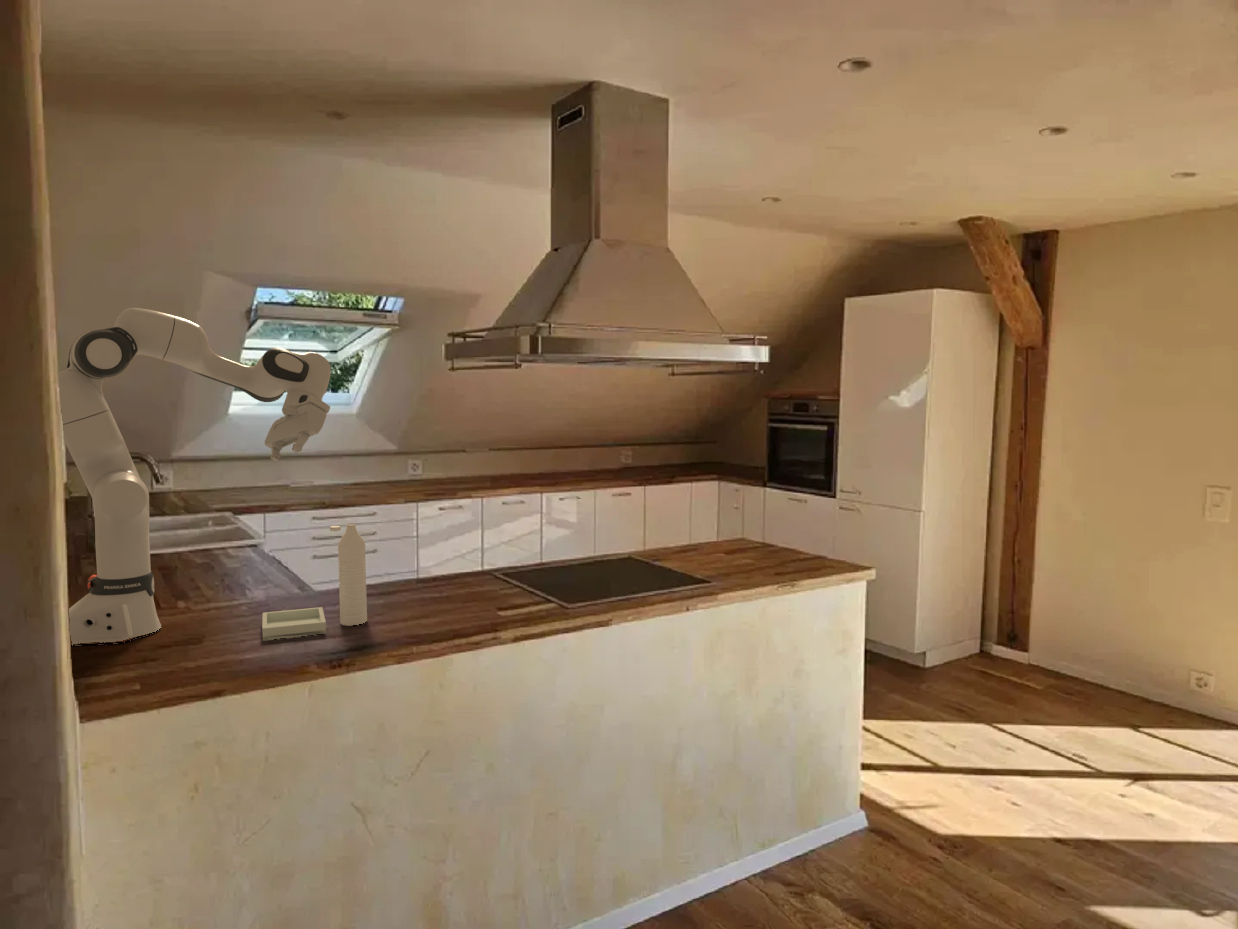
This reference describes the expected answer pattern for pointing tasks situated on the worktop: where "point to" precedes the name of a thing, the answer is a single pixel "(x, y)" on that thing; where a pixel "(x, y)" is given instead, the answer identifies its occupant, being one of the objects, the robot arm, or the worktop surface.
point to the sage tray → (293, 623)
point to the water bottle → (352, 576)
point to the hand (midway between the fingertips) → (285, 455)
